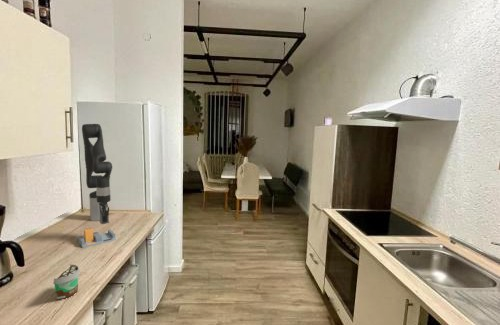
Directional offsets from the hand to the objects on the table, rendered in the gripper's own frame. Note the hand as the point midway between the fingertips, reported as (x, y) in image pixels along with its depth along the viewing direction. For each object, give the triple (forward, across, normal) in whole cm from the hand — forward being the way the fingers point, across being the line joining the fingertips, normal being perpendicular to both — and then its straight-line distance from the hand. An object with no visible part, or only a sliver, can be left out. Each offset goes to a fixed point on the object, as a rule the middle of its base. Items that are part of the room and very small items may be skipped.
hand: (104, 220), depth 167 cm
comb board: (+12, 0, -4) cm, 12 cm away
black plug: (+1, 0, 0) cm, 1 cm away
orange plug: (+11, 0, -9) cm, 14 cm away
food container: (+12, +51, -26) cm, 59 cm away
